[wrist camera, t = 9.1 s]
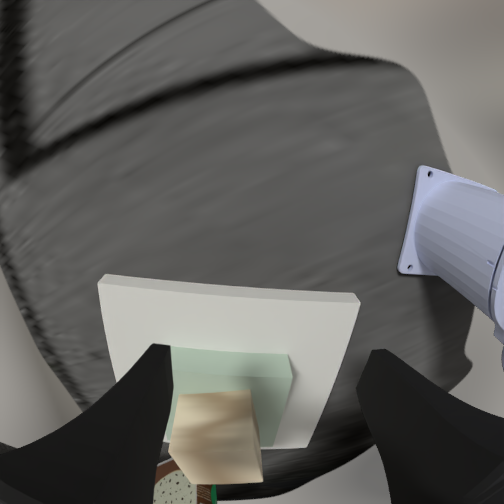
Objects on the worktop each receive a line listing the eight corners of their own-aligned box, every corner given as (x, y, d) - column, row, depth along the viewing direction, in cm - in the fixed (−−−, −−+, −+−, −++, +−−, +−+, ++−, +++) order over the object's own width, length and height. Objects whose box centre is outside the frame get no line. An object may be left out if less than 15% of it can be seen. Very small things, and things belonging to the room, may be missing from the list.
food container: (186, 483, 31) (181, 541, 21) (149, 467, 29) (138, 528, 20) (246, 459, 28) (250, 530, 19) (205, 441, 26) (200, 520, 17)
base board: (353, 292, 21) (374, 322, 17) (304, 436, 27) (310, 465, 23) (105, 273, 19) (81, 300, 15) (136, 425, 25) (128, 454, 22)
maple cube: (250, 389, 18) (253, 449, 13) (258, 429, 20) (263, 481, 15) (178, 394, 18) (168, 451, 14) (196, 433, 20) (191, 484, 15)
